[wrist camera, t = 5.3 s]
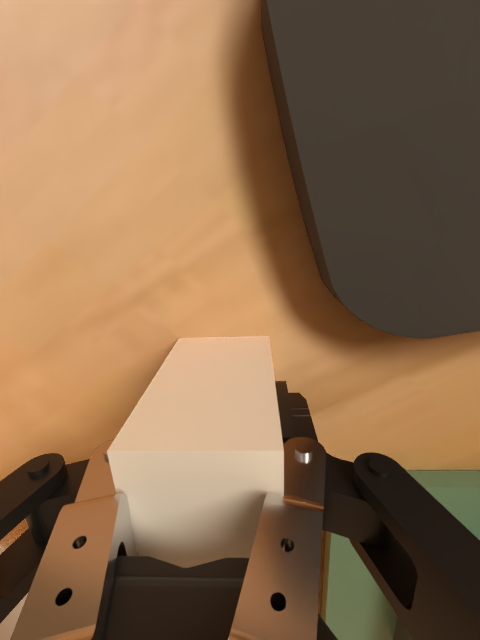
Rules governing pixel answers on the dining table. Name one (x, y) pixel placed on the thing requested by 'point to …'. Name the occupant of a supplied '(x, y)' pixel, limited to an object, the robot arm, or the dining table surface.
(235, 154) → the dining table surface
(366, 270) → the media streaming box
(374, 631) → the green insertion board
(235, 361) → the plug
